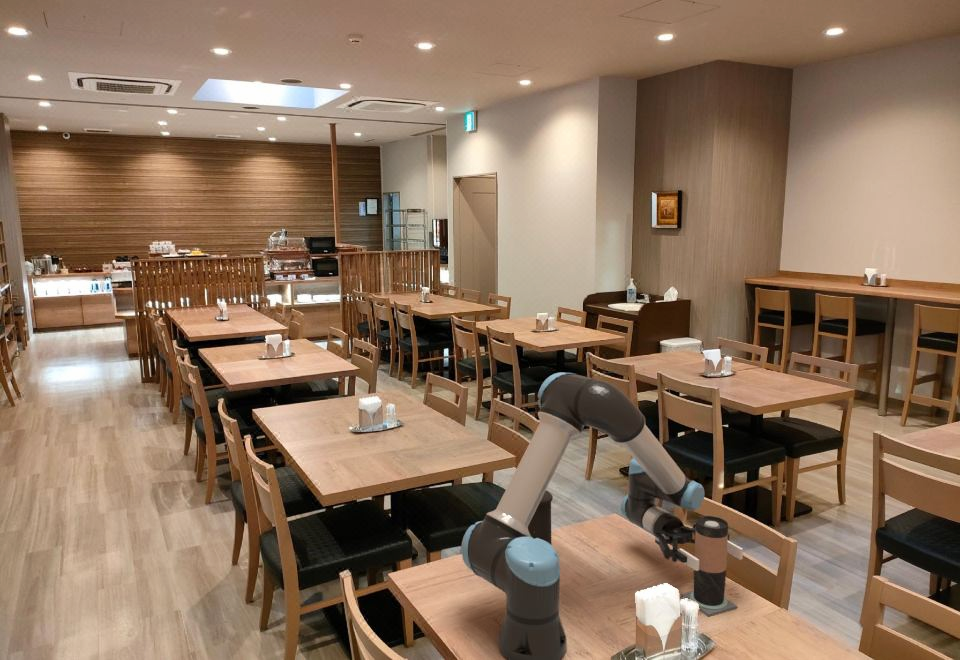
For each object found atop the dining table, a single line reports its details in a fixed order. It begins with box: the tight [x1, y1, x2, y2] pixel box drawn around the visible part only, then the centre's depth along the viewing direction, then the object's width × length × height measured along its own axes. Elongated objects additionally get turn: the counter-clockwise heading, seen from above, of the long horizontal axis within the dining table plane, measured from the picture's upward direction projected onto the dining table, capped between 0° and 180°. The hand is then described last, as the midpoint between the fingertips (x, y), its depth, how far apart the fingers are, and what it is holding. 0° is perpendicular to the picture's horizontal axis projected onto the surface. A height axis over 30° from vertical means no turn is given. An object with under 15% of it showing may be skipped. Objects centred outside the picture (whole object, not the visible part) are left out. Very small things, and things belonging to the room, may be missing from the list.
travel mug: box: [693, 515, 729, 606], centre depth 168 cm, size 8×8×20 cm
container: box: [528, 490, 553, 546], centre depth 190 cm, size 9×9×20 cm
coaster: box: [680, 590, 738, 618], centre depth 169 cm, size 9×10×1 cm
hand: (720, 559), depth 164 cm, fingers open, 13 cm apart
